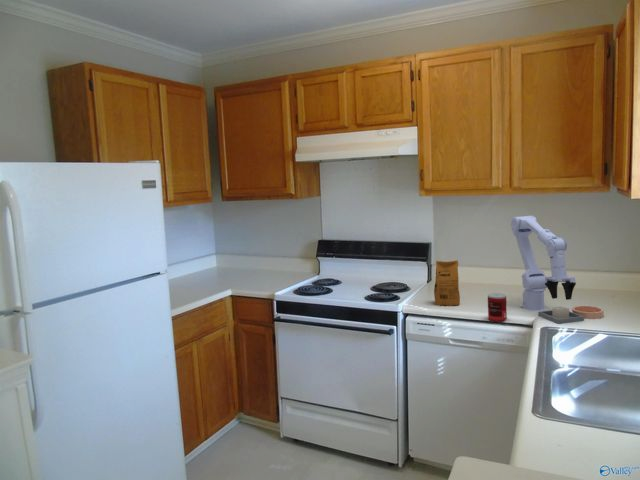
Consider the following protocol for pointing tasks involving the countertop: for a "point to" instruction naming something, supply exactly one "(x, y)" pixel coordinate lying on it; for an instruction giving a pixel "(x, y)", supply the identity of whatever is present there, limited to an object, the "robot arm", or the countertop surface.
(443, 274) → the coffee package
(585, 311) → the bowl
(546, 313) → the parts tray
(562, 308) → the stone block
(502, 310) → the canned food
